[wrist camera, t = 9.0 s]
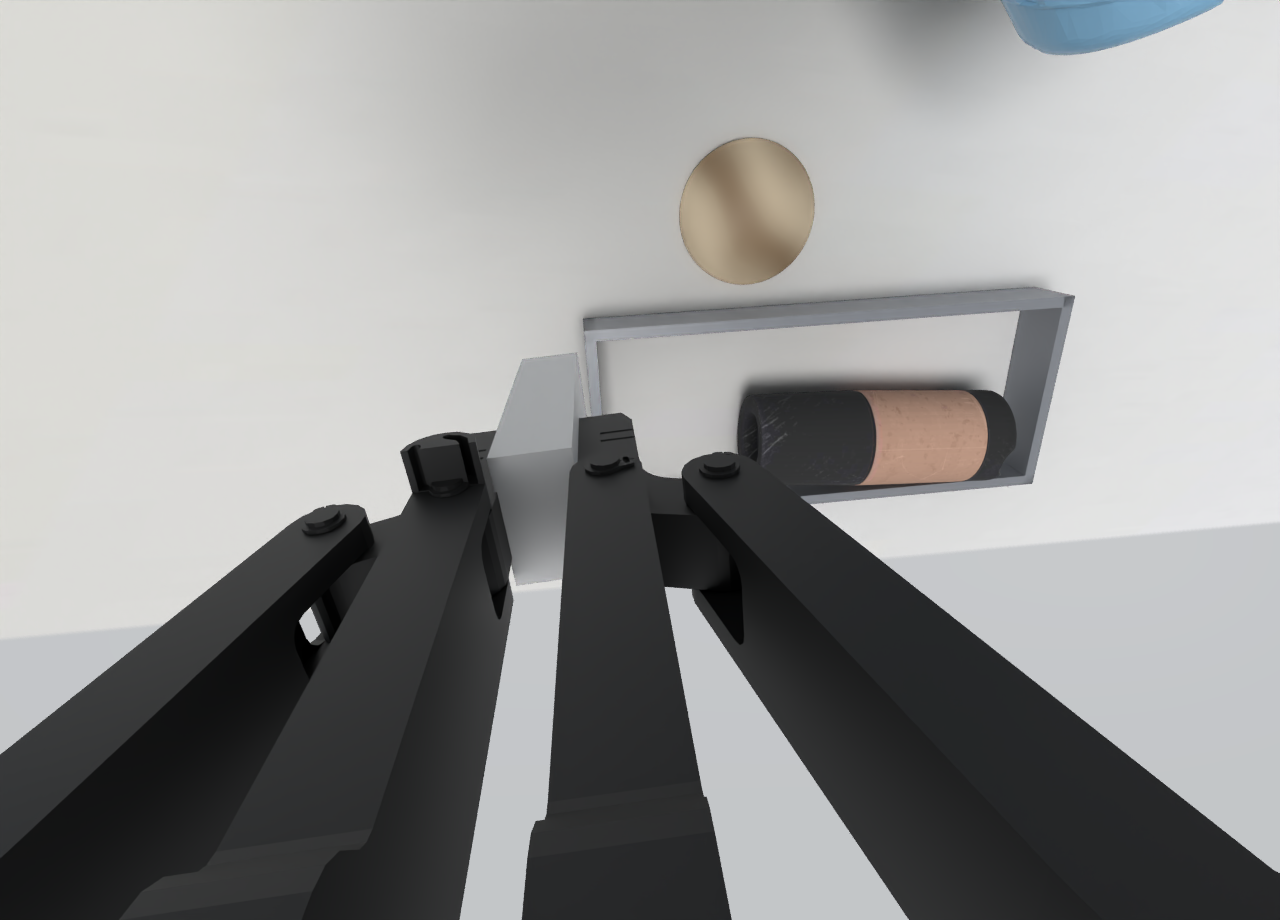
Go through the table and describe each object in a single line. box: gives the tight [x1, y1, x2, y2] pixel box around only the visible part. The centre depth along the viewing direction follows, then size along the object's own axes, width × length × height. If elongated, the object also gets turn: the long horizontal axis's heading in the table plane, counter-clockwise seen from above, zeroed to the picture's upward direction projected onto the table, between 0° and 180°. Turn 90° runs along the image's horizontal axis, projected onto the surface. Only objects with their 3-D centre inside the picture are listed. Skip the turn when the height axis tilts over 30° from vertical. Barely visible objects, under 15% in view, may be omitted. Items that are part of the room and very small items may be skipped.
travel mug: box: [738, 390, 1017, 485], centre depth 50 cm, size 8×8×20 cm
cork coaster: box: [680, 138, 815, 285], centre depth 46 cm, size 10×10×1 cm
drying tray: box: [583, 287, 1075, 504], centre depth 50 cm, size 37×16×4 cm, turn 93°
